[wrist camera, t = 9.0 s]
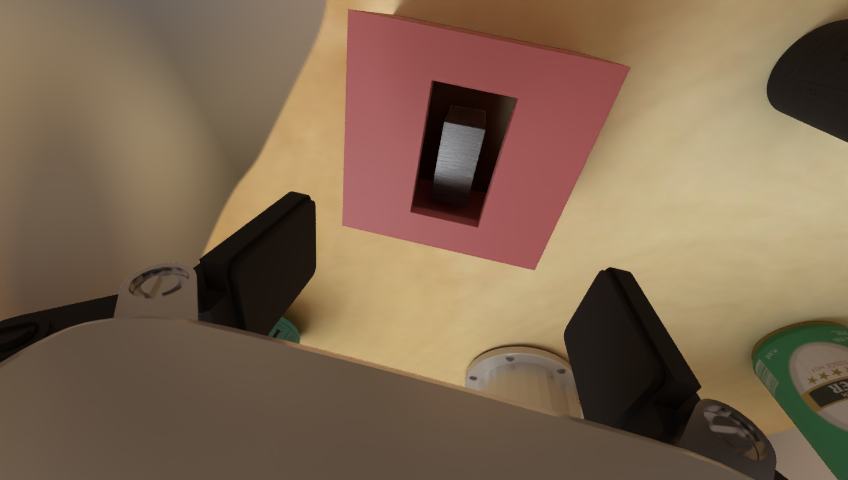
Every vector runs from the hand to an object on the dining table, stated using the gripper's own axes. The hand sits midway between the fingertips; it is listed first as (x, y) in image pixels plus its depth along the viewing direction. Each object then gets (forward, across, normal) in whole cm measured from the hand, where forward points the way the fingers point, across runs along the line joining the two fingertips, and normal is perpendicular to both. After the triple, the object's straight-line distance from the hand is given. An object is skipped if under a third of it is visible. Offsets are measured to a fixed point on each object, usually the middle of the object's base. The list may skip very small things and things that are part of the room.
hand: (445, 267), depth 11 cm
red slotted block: (+16, +1, -1) cm, 16 cm away
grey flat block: (+13, +1, -2) cm, 13 cm away
